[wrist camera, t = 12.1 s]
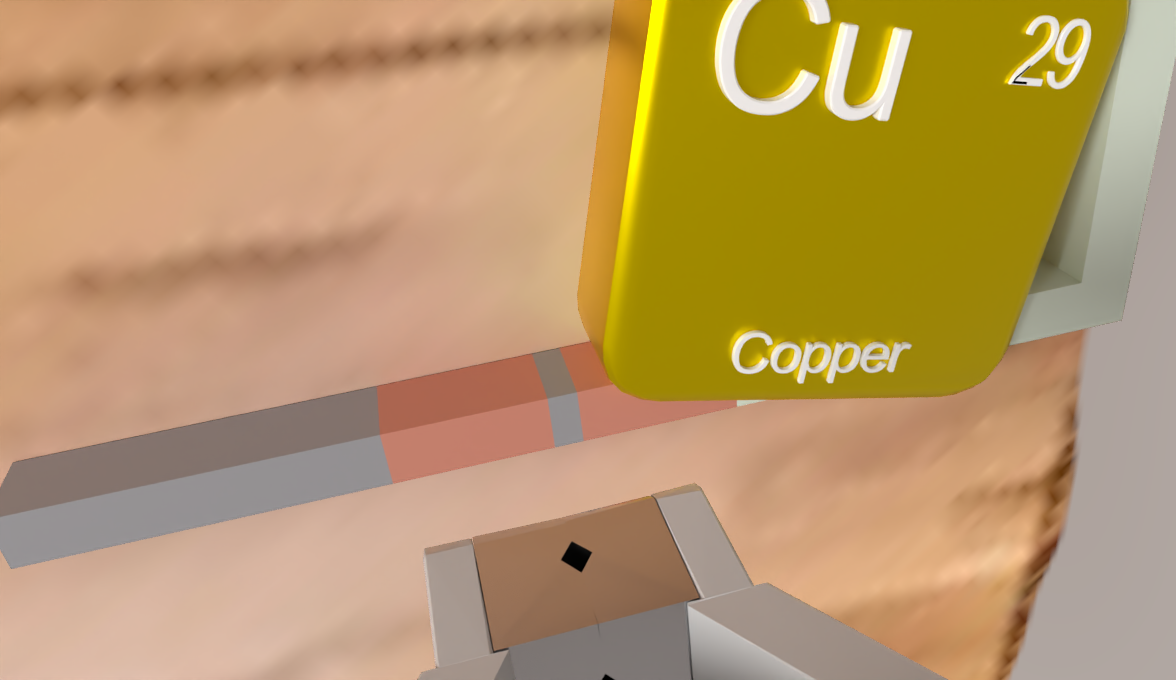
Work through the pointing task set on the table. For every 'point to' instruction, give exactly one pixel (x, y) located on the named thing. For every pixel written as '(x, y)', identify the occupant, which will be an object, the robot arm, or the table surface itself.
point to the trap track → (542, 376)
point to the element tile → (830, 189)
